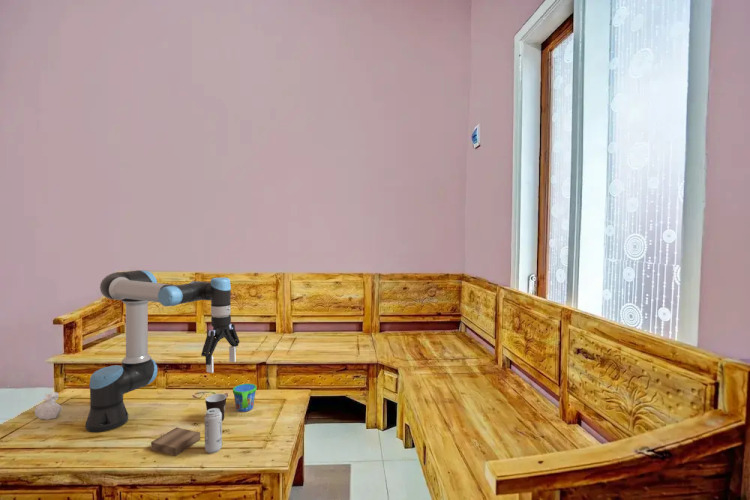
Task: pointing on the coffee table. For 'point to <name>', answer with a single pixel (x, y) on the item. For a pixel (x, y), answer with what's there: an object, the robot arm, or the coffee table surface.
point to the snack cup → (244, 396)
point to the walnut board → (175, 441)
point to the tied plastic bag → (48, 407)
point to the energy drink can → (213, 430)
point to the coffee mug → (216, 402)
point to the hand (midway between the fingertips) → (221, 366)
